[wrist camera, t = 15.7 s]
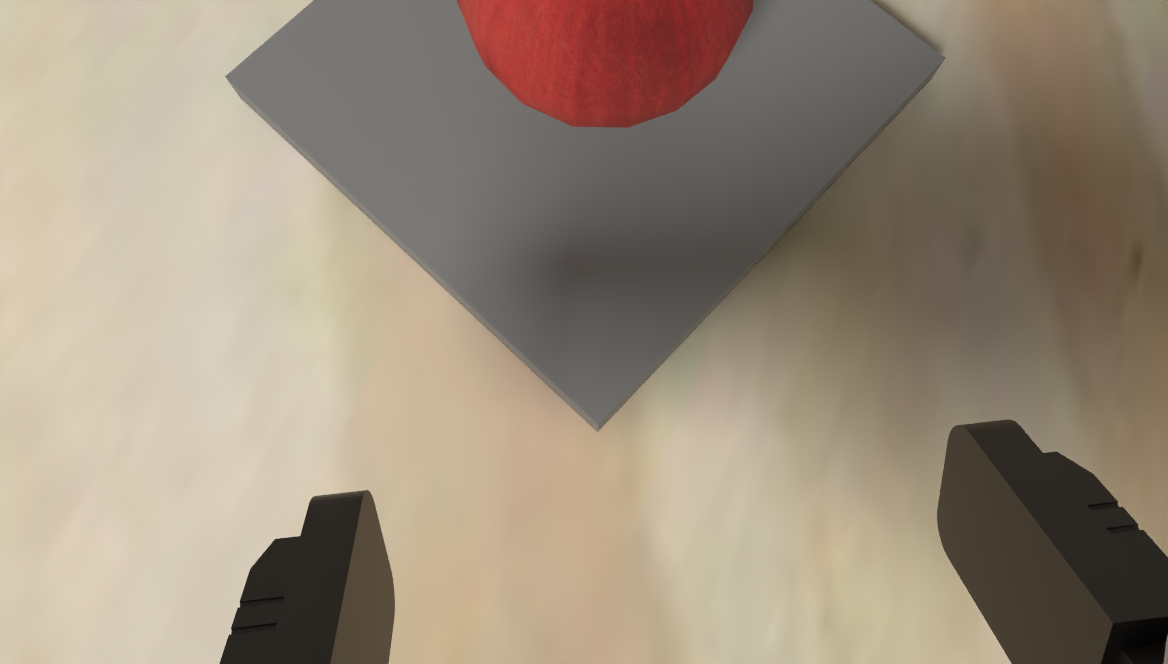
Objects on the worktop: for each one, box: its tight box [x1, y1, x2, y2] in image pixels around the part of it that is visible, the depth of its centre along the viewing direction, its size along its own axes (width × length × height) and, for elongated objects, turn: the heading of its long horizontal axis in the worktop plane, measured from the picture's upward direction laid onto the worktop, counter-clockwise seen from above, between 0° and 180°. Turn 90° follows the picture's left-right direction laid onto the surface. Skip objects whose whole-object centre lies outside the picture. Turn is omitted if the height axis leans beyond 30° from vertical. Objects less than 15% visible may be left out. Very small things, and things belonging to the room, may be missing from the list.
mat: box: [225, 0, 945, 432], centre depth 22 cm, size 12×12×1 cm
